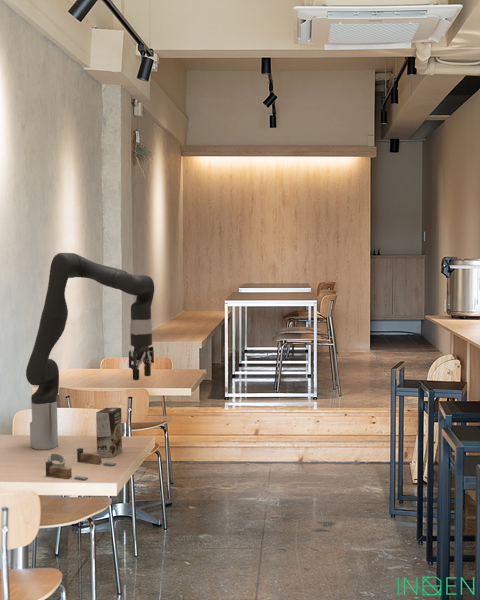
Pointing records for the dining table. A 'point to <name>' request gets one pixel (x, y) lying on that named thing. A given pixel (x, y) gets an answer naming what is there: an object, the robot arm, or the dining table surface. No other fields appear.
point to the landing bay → (111, 464)
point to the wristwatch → (56, 459)
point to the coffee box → (109, 432)
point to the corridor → (66, 472)
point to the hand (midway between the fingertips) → (141, 378)
